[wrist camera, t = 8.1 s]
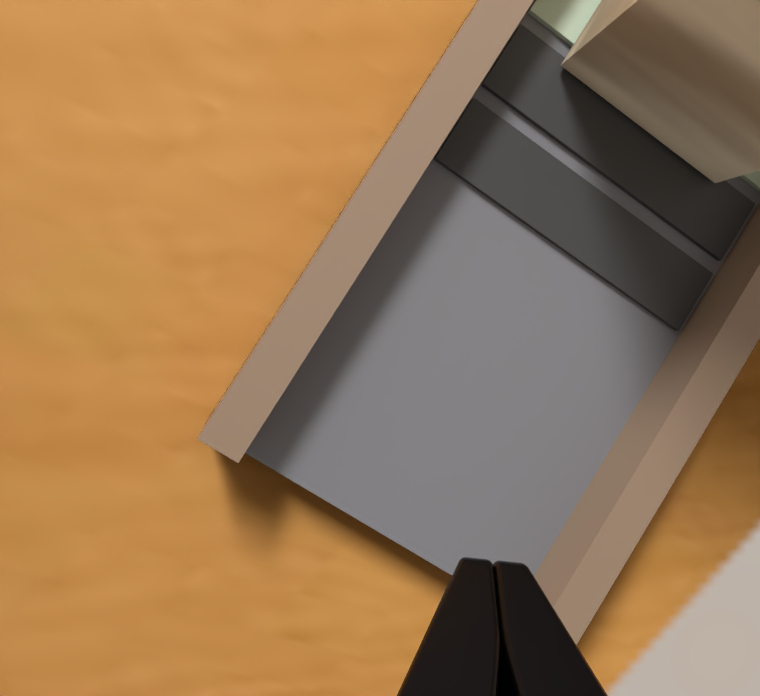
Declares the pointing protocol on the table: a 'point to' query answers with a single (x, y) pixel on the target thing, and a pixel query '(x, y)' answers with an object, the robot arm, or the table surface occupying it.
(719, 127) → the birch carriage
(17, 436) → the table surface
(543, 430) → the box
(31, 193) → the table surface
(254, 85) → the table surface
